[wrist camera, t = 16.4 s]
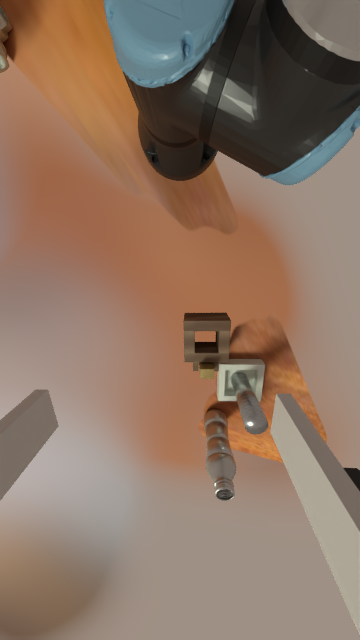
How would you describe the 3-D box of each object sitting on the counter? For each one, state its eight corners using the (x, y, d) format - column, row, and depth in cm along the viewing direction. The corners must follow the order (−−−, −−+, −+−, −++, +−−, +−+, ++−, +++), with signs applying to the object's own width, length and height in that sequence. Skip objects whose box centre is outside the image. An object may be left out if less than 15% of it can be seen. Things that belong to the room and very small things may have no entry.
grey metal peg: (230, 371, 51) (245, 416, 37) (247, 371, 51) (269, 416, 37) (229, 385, 53) (244, 433, 39) (246, 385, 53) (266, 434, 38)
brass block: (199, 351, 50) (200, 369, 43) (210, 351, 50) (214, 369, 43) (199, 360, 51) (200, 378, 44) (210, 360, 51) (213, 378, 43)
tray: (218, 358, 51) (219, 364, 48) (261, 359, 50) (265, 364, 48) (216, 393, 55) (218, 400, 52) (257, 394, 54) (260, 401, 51)
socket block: (184, 313, 48) (183, 321, 42) (226, 312, 47) (230, 320, 41) (185, 360, 52) (184, 373, 46) (223, 360, 51) (227, 373, 46)
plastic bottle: (228, 421, 57) (245, 503, 39) (205, 425, 58) (212, 507, 40) (223, 403, 56) (239, 481, 37) (200, 408, 57) (204, 486, 38)
